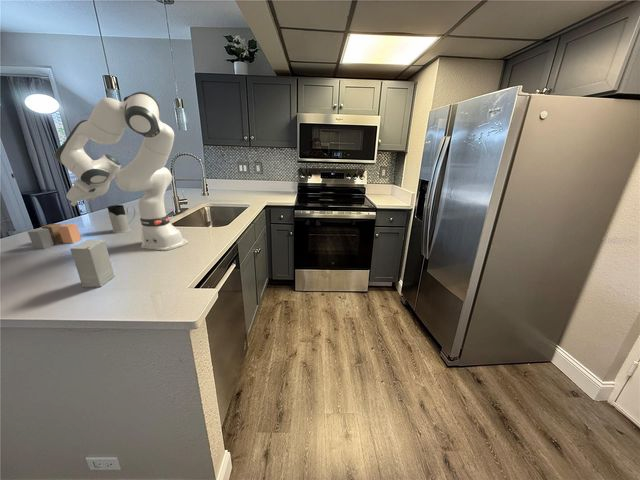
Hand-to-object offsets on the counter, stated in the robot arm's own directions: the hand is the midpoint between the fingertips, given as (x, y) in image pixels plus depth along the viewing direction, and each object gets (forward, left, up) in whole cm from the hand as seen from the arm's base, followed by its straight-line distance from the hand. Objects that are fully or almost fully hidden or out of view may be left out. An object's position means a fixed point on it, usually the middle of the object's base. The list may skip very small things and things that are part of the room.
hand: (81, 202), depth 128 cm
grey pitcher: (+8, -21, -22) cm, 31 cm away
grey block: (+15, +14, -21) cm, 30 cm away
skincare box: (-50, +23, -22) cm, 59 cm away
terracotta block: (+12, +4, -21) cm, 25 cm away
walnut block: (+20, +7, -21) cm, 30 cm away
